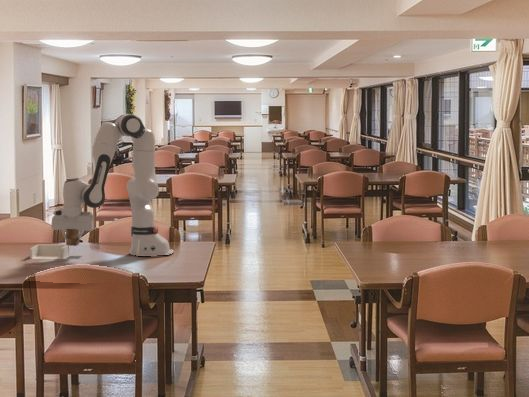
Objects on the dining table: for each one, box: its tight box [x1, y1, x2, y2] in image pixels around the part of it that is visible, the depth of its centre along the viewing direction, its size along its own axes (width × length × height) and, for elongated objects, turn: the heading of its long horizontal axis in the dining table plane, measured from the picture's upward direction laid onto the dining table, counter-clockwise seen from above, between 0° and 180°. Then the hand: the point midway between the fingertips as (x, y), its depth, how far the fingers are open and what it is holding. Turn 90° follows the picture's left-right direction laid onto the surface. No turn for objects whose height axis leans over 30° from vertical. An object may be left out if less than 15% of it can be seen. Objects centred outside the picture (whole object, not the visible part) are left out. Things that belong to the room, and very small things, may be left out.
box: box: [29, 243, 70, 260], centre depth 365 cm, size 16×11×6 cm
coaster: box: [65, 255, 83, 260], centre depth 363 cm, size 6×6×1 cm
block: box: [65, 229, 80, 247], centre depth 362 cm, size 5×5×8 cm
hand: (72, 239), depth 362 cm, fingers closed on block, 5 cm apart
